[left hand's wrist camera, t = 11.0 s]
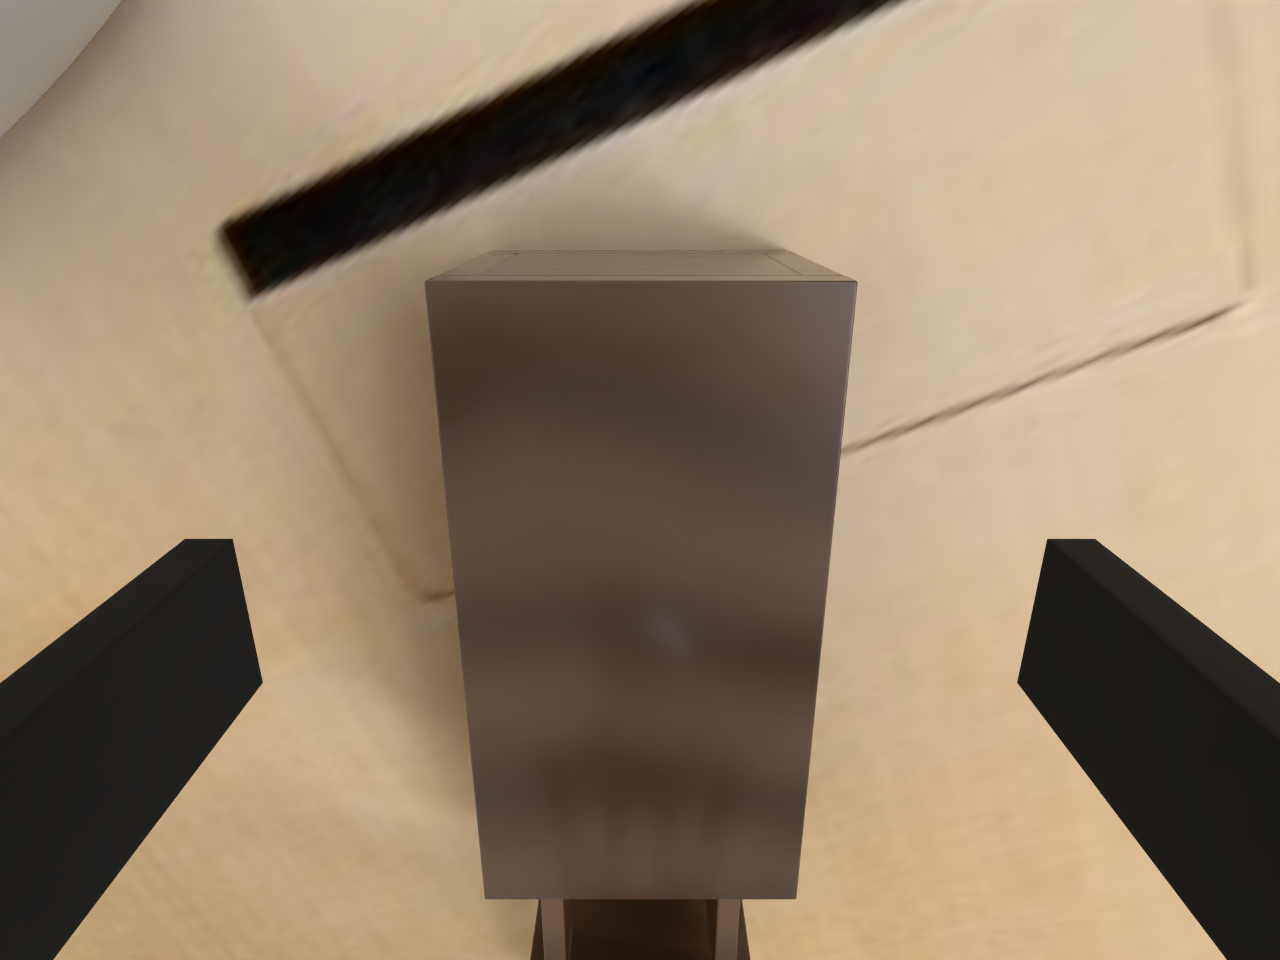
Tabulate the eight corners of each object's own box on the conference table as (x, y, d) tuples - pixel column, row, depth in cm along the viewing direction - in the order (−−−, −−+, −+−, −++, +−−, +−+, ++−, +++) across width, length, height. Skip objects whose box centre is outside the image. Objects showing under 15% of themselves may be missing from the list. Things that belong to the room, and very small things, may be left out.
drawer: (732, 984, 37) (750, 1140, 31) (547, 984, 37) (529, 1139, 31) (760, 538, 29) (793, 633, 23) (520, 538, 29) (488, 633, 23)
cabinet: (758, 727, 33) (796, 899, 25) (522, 726, 33) (484, 899, 25) (791, 250, 26) (858, 280, 18) (490, 250, 26) (423, 280, 18)
